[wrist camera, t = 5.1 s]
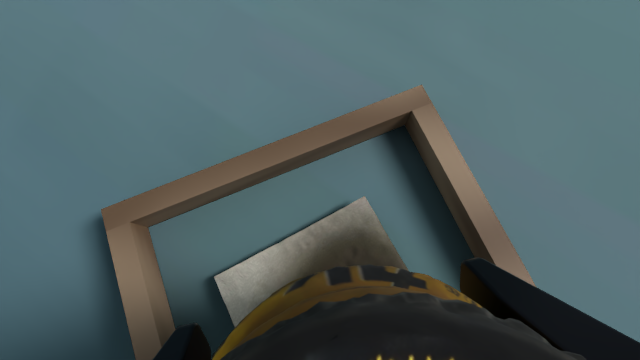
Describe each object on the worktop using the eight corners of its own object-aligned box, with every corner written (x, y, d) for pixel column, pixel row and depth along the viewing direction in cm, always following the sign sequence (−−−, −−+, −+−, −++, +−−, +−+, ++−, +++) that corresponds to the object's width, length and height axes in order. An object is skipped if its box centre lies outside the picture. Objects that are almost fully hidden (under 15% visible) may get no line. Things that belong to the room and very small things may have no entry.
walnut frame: (607, 452, 13) (642, 474, 11) (229, 647, 12) (214, 699, 10) (413, 101, 17) (421, 84, 16) (121, 215, 16) (100, 209, 14)
